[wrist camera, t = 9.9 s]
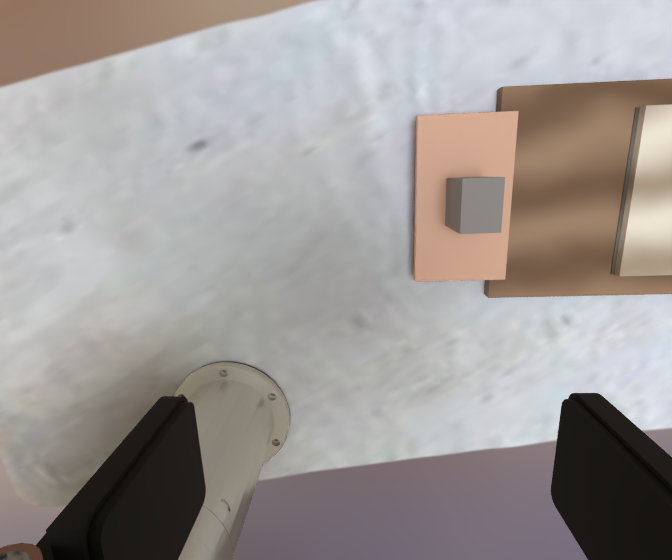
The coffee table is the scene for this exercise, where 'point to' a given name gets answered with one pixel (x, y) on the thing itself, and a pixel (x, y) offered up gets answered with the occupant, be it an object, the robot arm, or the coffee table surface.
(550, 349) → the coffee table surface
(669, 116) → the board
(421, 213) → the peach lid with handle
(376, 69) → the coffee table surface
